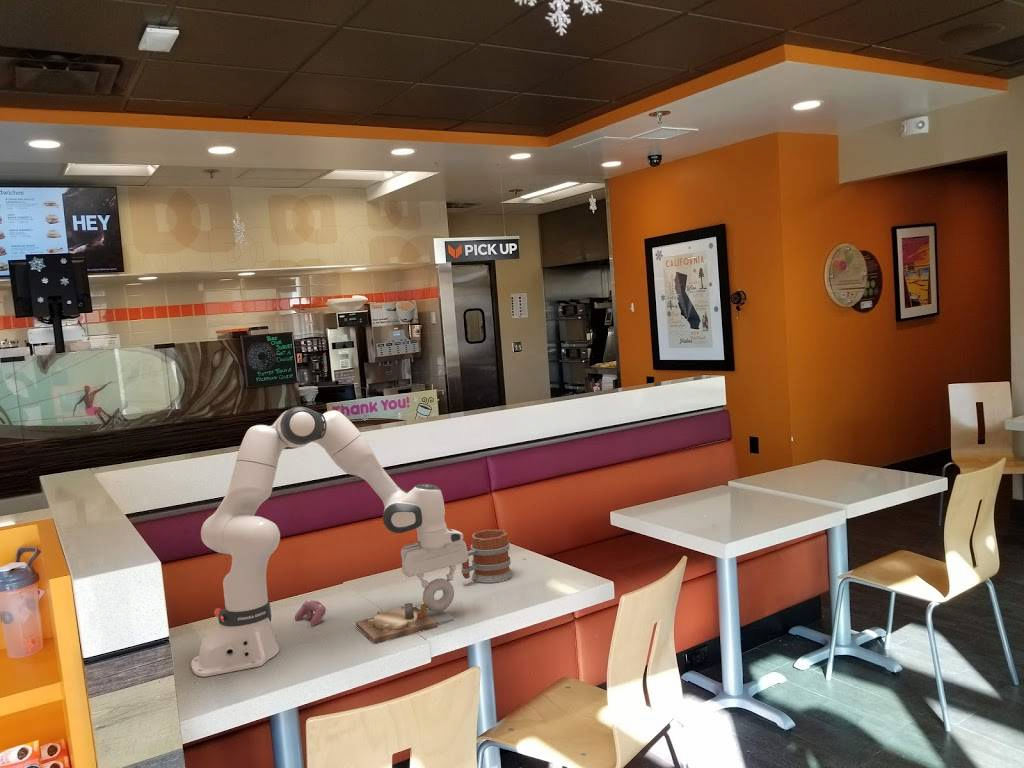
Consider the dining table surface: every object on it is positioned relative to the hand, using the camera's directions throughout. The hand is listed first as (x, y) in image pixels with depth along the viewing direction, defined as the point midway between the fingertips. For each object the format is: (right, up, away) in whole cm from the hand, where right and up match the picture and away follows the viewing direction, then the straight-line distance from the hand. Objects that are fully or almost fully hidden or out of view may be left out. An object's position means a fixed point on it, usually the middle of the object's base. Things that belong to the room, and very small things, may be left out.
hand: (437, 583), depth 239 cm
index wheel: (-12, -10, -6) cm, 16 cm away
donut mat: (0, -10, 0) cm, 10 cm away
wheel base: (-11, -11, -6) cm, 17 cm away
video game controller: (-39, -13, +4) cm, 41 cm away
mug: (+13, -7, +32) cm, 36 cm away
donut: (-1, -9, 0) cm, 9 cm away
